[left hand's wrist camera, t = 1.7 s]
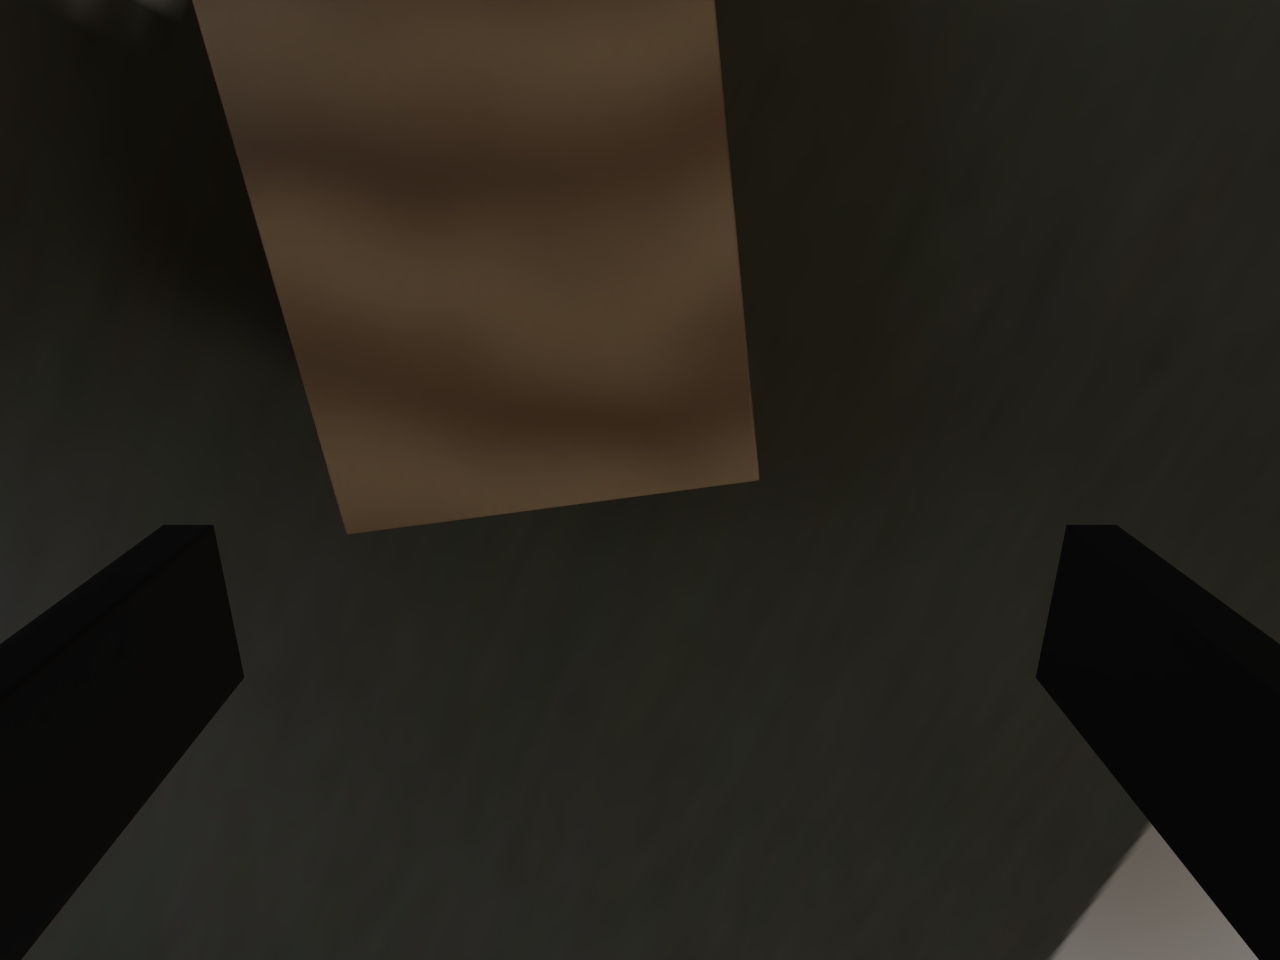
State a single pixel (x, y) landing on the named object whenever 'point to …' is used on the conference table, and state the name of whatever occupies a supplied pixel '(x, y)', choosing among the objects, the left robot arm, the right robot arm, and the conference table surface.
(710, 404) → the cabinet
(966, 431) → the conference table surface
